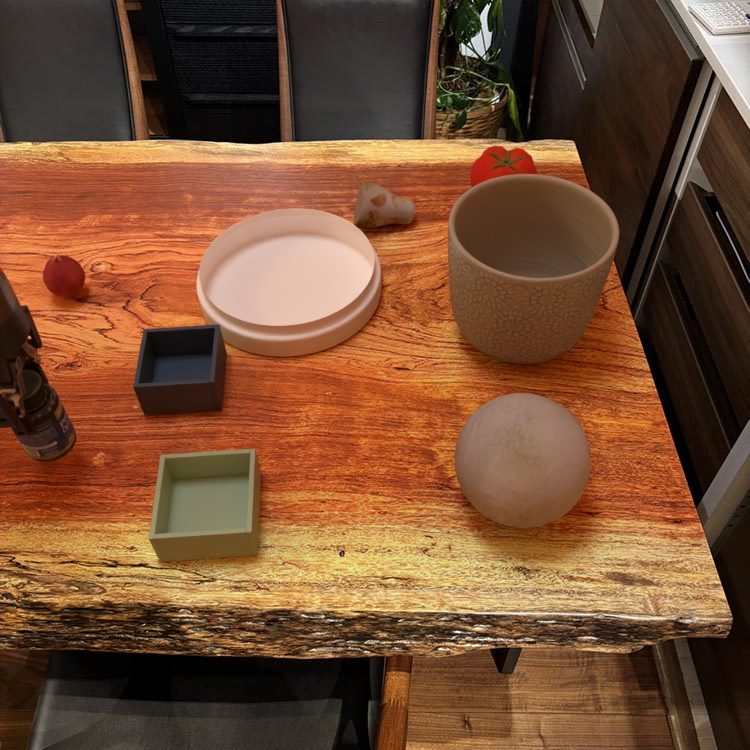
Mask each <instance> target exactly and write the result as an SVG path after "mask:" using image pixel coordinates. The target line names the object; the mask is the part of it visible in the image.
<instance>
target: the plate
mask: <svg viewBox="0 0 750 750" xmlns="http://www.w3.org/2000/svg"><path fill="white" fill-rule="evenodd" d="M195 283H196V285H195V286H196V294H197V299H198V303H199V306H200V311H201V313H202V316H203V318H204V320H205V322H206V323H207V324H206V325H217V324H219V325H220V328H221V332H222V336H223V340H224V342H225V343H227V344H228V345H230V346H232V347H234V348H237V349H239V350H241V351H244V352H248V353H250V354H254V355H260V356H265V357H275V358H277V357H278V358H279V357H283V358H286V357H287V358H288V357H299V356H305V355H310V354H315V353H318V352H321V351H325V350H327V349H330V348H332V347H335V346H337V345H339V344H341V343H343V342H344V341H346V340H348V339H350V338H351V337H352V336H355V335H356V334H357V333H358V332H359V331H360V330H362V329H363V328H364V327H365V325H366V324H367V323H368V322H369V321H370V319H371V318H372V317H373V315H374V313H375V312H376V310H377V308H378V306H379V303H380V300H381V295H382V267H381V262H380V258H379V256H378V253H377V251H376V250H375V248H374V247H373V245H372V243H371V241H370V240H369V238H368V237H367V235H366V234H365V233H364V231H362V230H361V229H360V228H358V226H357V225H354V223H352V222H351V221H349V220H347V219H346V218H343V217H342V216H339V215H336V214H334V213H330V212H328V211H323V210H319V209H312V208H302V207H301V208H300V207H299V208H296V207H295V208H294V207H293V208H280V209H279V208H278V209H273V210H267V211H264V212H259V213H257V214H254V215H250V216H249V217H246V218H243V219H240V220H239V221H237V222H235V223H234V224H232V225H230V226H229V227H227V228H226V229H224V230H223V231H222V232H220V233H219V235H217V236H216V237H215V238H214V239H213V240H212V241H211V242H210V244H209V245H208V246H207V248H206V250H205V251H204V253H203V256H202V258H201V260H200V264H199V269H198V272H197V275H196V282H195Z"/></svg>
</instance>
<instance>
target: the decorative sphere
mask: <svg viewBox="0 0 750 750" xmlns="http://www.w3.org/2000/svg"><path fill="white" fill-rule="evenodd" d="M588 440H589V439H588V437H587V435H586V433H585V431H584V429H583V427H582V425H581V424H580V422H579V421H578V420H577V418H576V417H575V416H574V415H573V414H572V413H571V412H570V411H569V410H568V409H567V408H565V407H564V406H563V405H562V404H560V403H559V402H557V401H555V400H553V399H551V398H548V397H547V396H543V395H540V394H535V393H528V392H514V393H513V392H512V393H508V394H504V395H499V396H496V397H495V398H492V399H490V400H488V401H487V402H485V403H484V404H482V405H480V406H479V407H478V408H477V409H476V410H475V411H474V412H473V413H471V415H470V416H469V417H468V418H467V420H466V421H465V423H464V424H463V425H462V428H461V429H460V432H459V434H458V436H457V440H456V443H455V449H454V450H455V451H454V468H455V474H456V479H457V482H458V484H459V486H460V489H461V491H462V493H463V494H464V496H465V498H466V499H467V500H468V502H469V503H470V504H471V505H472V506H473V507H474V508H475V510H477V511H478V512H479V513H480V514H482V515H483V516H484V517H485V518H488V519H490V520H491V521H493V522H495V523H497V524H500V525H503V526H506V527H507V526H508V527H511V528H518V529H526V528H527V529H528V528H532V529H533V528H537V527H542V526H545V525H548V524H550V523H552V522H555V521H557V520H559V519H560V518H562V517H563V516H565V515H566V514H568V512H570V511H571V510H572V509H573V508H574V507H575V506H576V504H577V503H579V500H580V499H581V498H582V496H583V494H584V492H585V491H586V487H587V486H588V484H589V480H590V474H591V470H592V469H591V468H592V458H591V457H592V456H591V448H590V445H589V441H588Z"/></svg>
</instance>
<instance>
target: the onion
mask: <svg viewBox="0 0 750 750" xmlns="http://www.w3.org/2000/svg"><path fill="white" fill-rule="evenodd" d="M86 278H87V277H86V271H85V269H84V268H83V266H82V265H81V263H79V261H77V260H76V259H74V258H73V257H71V256H69V255H62V254H58V253H55V254H53V256H52V257H51V258H50V259H48V261H47V262H46V263H45V265H44V267H43V270H42V281H43V284H44V285H45V287H46V289H47V290H48V291H49V292H50V293H52V294H54V295H55V296H57V297H63V298H73V297H75V296H76V295H78V293H79V292H80V291H81V290H82V289H83V287H84V285H85V282H86Z"/></svg>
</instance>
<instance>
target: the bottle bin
mask: <svg viewBox="0 0 750 750" xmlns="http://www.w3.org/2000/svg"><path fill="white" fill-rule="evenodd" d="M141 336H142V337H141V341H140V346H139V352H138V358H137V364H136V368H135V375H134V380H133V386H132V388H133V390H134V393H135V395H136V399H137V400H138V403H139V406H140V408H141V411H142V413H143V415H144V416H153V415H154V416H155V415H157V416H158V415H171V414H187V413H202V412H215V411H216V412H217V411H223V406H224V405H223V404H224V392H225V380H226V379H225V378H226V368H227V367H226V365H227V355H228V353H227V348H226V345H225V341H224V340H223V336H222V332H221V328H220V325H219V324H217V325H208V324H204V325H189V326H170V327H156V328H155V327H154V328H143V330H142V335H141Z"/></svg>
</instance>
